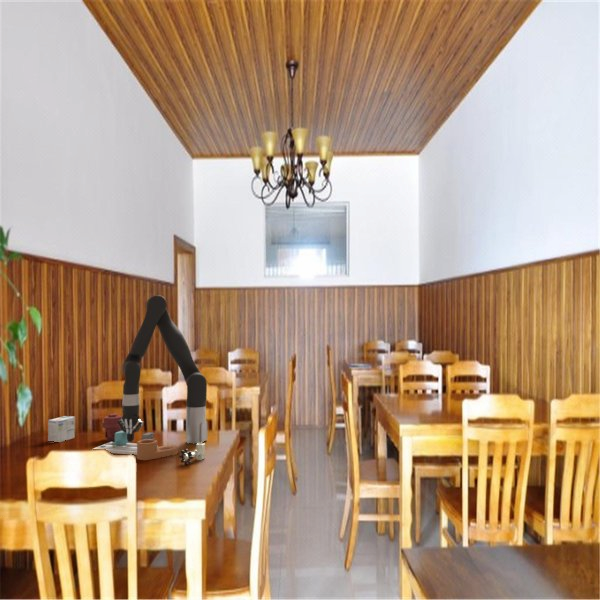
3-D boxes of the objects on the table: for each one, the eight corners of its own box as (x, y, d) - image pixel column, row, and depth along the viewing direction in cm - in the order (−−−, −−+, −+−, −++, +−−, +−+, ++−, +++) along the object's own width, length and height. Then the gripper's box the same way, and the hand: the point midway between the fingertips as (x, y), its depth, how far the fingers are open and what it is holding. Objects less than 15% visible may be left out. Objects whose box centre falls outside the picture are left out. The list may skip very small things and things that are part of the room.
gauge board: (157, 447, 226) (157, 444, 226) (141, 455, 213) (141, 451, 213) (110, 444, 232) (110, 441, 232) (92, 451, 220) (92, 447, 220)
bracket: (141, 461, 205) (141, 444, 205) (134, 457, 211) (134, 441, 212) (181, 454, 216) (181, 438, 216) (173, 450, 222) (173, 435, 223)
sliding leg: (128, 442, 229) (128, 431, 229) (116, 447, 220) (116, 435, 220) (121, 442, 230) (121, 430, 230) (108, 447, 221) (108, 435, 221)
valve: (197, 457, 211) (178, 464, 200) (197, 441, 211) (179, 448, 201) (209, 459, 208) (191, 466, 198) (209, 443, 209) (191, 450, 198)
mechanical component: (107, 436, 247) (126, 437, 246) (97, 441, 237) (117, 442, 236) (108, 412, 248) (127, 412, 247) (98, 416, 238) (117, 416, 237)
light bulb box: (64, 437, 247) (65, 415, 248) (75, 438, 245) (75, 416, 245) (47, 442, 237) (47, 419, 237) (57, 443, 235) (58, 420, 235)
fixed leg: (153, 445, 225) (153, 432, 226) (142, 450, 216) (142, 437, 217) (147, 444, 226) (148, 432, 226) (136, 449, 217) (136, 437, 217)
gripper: (148, 402, 228) (147, 440, 227) (123, 401, 231) (122, 438, 231) (139, 405, 221) (138, 444, 220) (113, 404, 224) (112, 442, 223)
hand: (130, 441), depth 225 cm, fingers closed
